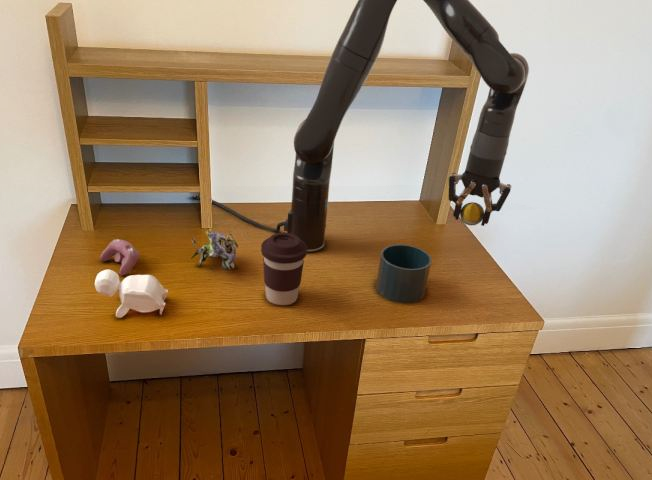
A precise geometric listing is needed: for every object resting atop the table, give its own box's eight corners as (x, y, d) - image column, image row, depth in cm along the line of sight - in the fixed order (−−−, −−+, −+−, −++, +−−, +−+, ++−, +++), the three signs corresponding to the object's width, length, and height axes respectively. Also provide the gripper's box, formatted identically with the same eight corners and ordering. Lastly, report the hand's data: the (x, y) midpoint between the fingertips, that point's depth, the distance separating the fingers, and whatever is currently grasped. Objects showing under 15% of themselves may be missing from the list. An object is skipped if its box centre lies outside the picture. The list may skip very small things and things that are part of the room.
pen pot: (370, 295, 137) (375, 262, 132) (383, 271, 146) (388, 240, 141) (418, 308, 134) (425, 274, 129) (428, 283, 143) (435, 251, 138)
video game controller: (135, 277, 139) (145, 250, 138) (119, 276, 136) (129, 248, 134) (113, 261, 145) (121, 235, 143) (97, 260, 141) (105, 233, 140)
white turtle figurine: (160, 306, 133) (94, 285, 128) (172, 277, 129) (104, 254, 124) (156, 329, 126) (85, 308, 121) (168, 299, 122) (95, 276, 117)
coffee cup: (287, 315, 128) (291, 256, 120) (251, 299, 132) (252, 241, 124) (311, 294, 135) (316, 237, 127) (275, 280, 139) (278, 224, 131)
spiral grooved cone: (486, 224, 138) (489, 210, 129) (464, 232, 139) (465, 218, 130) (478, 204, 140) (480, 188, 130) (456, 212, 141) (457, 197, 131)
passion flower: (230, 286, 146) (240, 267, 135) (186, 280, 143) (193, 261, 132) (232, 245, 150) (242, 224, 140) (190, 239, 147) (196, 217, 137)
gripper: (522, 153, 128) (502, 222, 138) (457, 140, 132) (442, 208, 141) (520, 164, 122) (499, 235, 132) (452, 150, 126) (436, 220, 135)
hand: (469, 221), depth 136 cm, fingers closed on spiral grooved cone, 5 cm apart
